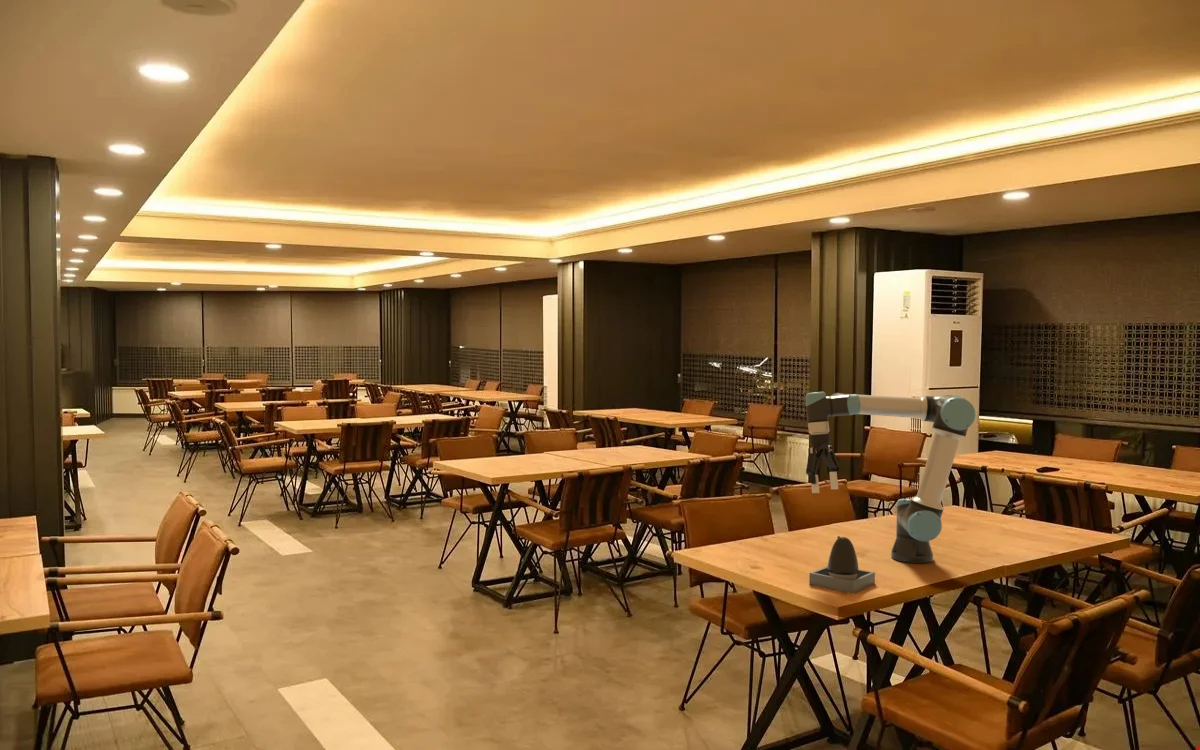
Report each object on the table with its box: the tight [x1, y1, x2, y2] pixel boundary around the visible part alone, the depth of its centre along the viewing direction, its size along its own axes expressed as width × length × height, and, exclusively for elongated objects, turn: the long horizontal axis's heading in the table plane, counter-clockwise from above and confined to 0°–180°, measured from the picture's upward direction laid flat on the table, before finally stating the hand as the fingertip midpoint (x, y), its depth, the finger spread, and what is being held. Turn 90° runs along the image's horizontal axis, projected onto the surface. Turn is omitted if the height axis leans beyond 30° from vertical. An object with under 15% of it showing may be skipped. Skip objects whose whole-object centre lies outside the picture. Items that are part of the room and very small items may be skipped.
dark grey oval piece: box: [827, 536, 860, 580], centre depth 290 cm, size 10×10×15 cm
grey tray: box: [808, 565, 876, 594], centre depth 290 cm, size 16×16×4 cm
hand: (825, 491), depth 314 cm, fingers open, 13 cm apart
